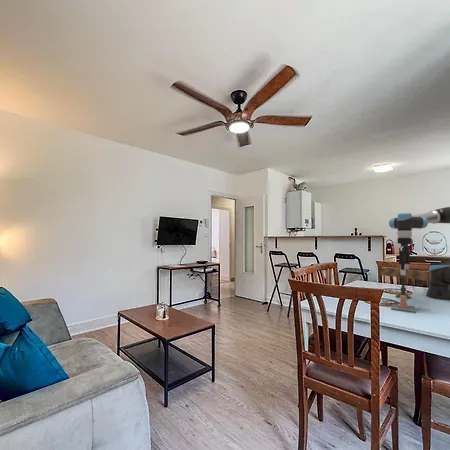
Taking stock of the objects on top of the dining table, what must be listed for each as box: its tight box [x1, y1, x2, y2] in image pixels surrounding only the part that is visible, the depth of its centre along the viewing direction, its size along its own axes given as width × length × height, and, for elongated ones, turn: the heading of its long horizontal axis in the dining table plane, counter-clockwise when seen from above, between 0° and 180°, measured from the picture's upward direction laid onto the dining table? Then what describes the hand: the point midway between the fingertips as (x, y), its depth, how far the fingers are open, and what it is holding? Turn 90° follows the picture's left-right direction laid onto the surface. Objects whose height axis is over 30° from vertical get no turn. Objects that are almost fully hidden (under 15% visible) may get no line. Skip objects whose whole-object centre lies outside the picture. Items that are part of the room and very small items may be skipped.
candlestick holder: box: [395, 278, 412, 300], centre depth 193 cm, size 9×9×30 cm
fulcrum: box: [390, 295, 416, 314], centre depth 163 cm, size 12×12×8 cm
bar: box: [379, 266, 431, 282], centre depth 168 cm, size 26×5×5 cm, turn 41°
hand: (404, 274), depth 168 cm, fingers closed on bar, 5 cm apart
